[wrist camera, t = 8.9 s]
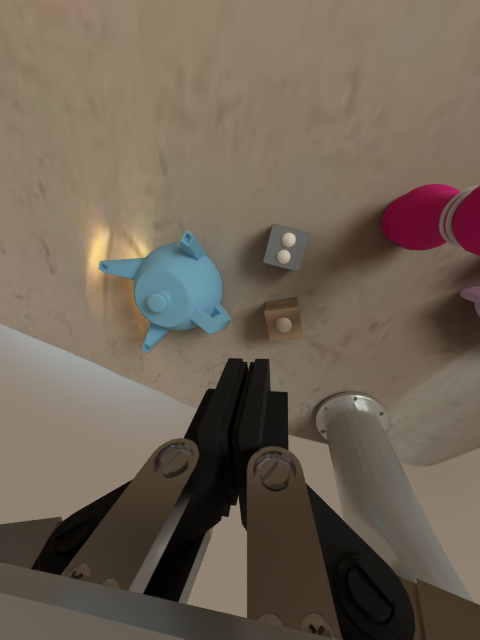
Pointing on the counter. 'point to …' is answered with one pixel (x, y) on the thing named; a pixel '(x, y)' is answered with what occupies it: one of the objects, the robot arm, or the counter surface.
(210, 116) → the counter surface
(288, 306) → the walnut block
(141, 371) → the counter surface
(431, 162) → the counter surface
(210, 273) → the teapot
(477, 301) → the clip
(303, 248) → the charcoal block
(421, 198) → the pepper mill
